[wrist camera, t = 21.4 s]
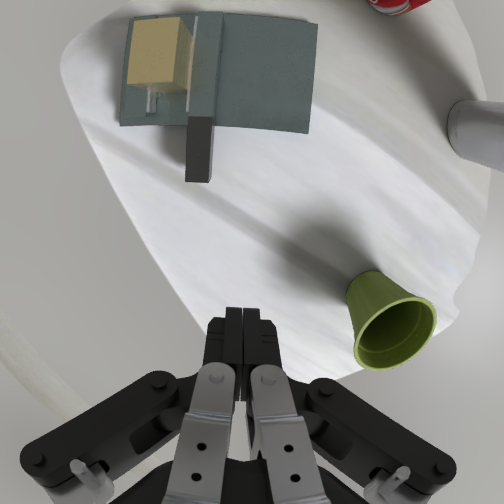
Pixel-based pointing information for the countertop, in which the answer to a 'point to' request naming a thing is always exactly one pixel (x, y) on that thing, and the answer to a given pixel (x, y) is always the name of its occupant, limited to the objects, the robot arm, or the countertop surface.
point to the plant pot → (387, 321)
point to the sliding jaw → (203, 95)
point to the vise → (241, 77)
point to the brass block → (160, 55)
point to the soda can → (396, 5)
